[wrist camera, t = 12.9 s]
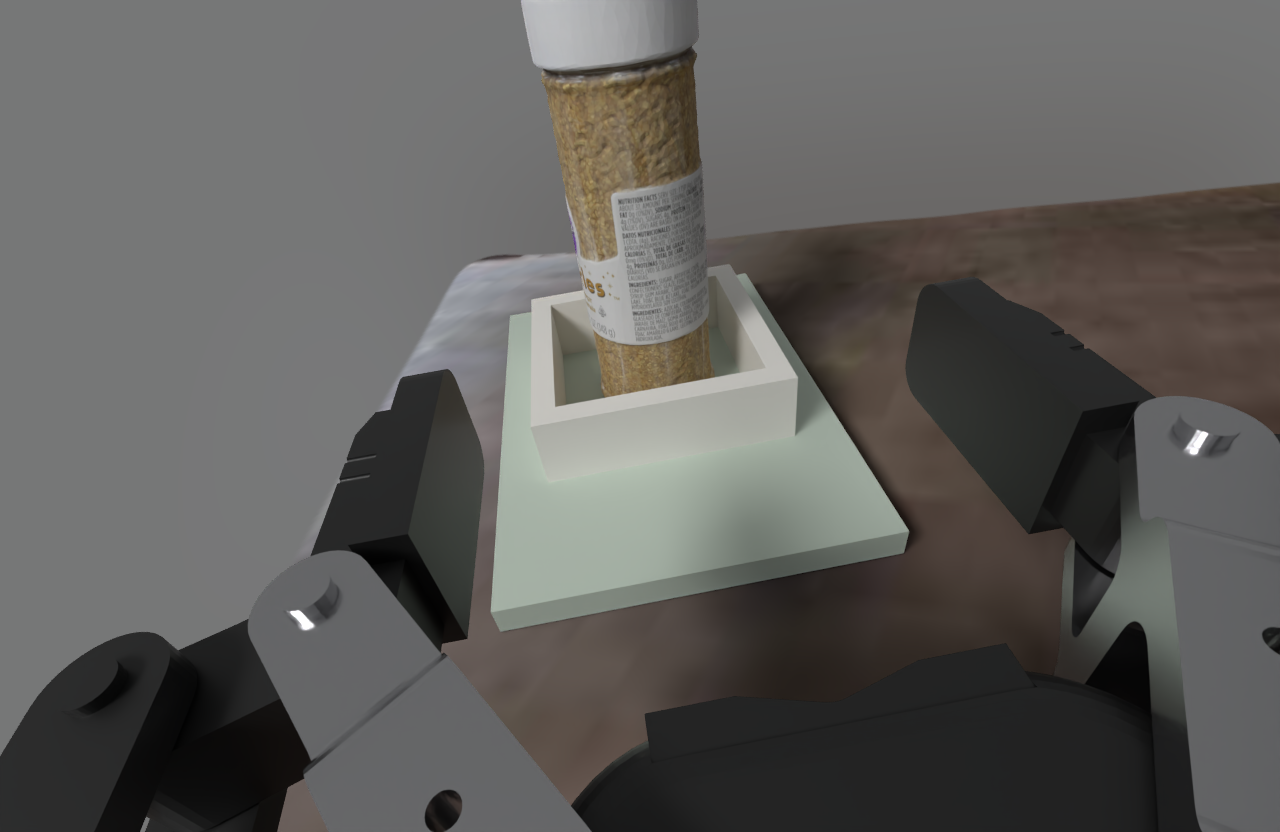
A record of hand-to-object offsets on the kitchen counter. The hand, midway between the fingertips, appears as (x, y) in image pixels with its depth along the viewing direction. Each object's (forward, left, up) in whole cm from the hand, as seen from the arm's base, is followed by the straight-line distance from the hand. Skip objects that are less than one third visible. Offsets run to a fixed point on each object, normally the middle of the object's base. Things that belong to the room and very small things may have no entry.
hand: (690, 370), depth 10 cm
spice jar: (0, -11, -8) cm, 13 cm away
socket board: (0, -11, -9) cm, 14 cm away
